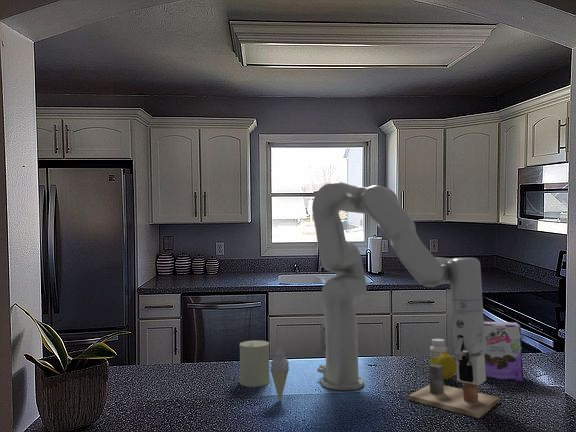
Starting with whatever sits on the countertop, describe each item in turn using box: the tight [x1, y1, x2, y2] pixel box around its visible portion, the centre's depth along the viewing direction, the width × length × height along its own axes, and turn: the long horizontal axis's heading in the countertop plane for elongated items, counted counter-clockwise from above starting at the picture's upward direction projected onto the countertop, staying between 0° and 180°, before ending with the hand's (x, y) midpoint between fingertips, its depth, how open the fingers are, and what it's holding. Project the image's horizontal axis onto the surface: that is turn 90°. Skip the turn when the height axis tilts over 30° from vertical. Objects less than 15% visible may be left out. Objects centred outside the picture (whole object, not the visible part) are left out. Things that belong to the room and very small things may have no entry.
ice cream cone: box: [269, 343, 290, 401], centre depth 115 cm, size 5×5×15 cm
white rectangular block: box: [455, 350, 487, 386], centre depth 109 cm, size 5×5×7 cm
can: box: [238, 339, 271, 388], centre depth 131 cm, size 9×9×12 cm
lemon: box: [437, 353, 457, 381], centre depth 130 cm, size 6×6×8 cm
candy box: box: [481, 321, 524, 382], centre depth 132 cm, size 14×6×16 cm, turn 71°
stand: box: [408, 364, 500, 419], centre depth 112 cm, size 18×14×8 cm
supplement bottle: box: [429, 338, 449, 365], centre depth 140 cm, size 5×5×10 cm
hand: (471, 377), depth 109 cm, fingers closed on white rectangular block, 5 cm apart
